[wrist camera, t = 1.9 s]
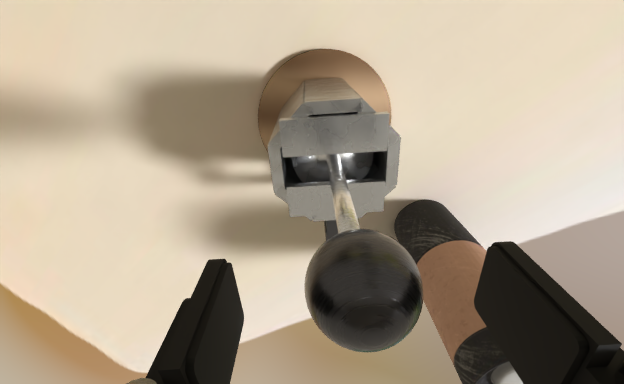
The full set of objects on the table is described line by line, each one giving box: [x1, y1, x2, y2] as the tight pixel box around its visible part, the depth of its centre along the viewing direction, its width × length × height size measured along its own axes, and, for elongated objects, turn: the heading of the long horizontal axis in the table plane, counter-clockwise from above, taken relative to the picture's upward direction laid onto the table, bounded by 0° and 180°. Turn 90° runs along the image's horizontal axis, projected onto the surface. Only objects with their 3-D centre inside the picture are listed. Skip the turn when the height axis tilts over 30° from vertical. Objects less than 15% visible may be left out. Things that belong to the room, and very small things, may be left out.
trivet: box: [258, 49, 391, 151], centre depth 31 cm, size 14×14×1 cm
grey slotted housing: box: [268, 77, 401, 241], centre depth 26 cm, size 12×9×13 cm
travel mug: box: [394, 200, 523, 384], centre depth 28 cm, size 8×8×20 cm
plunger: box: [292, 152, 423, 352], centre depth 15 cm, size 6×6×15 cm
